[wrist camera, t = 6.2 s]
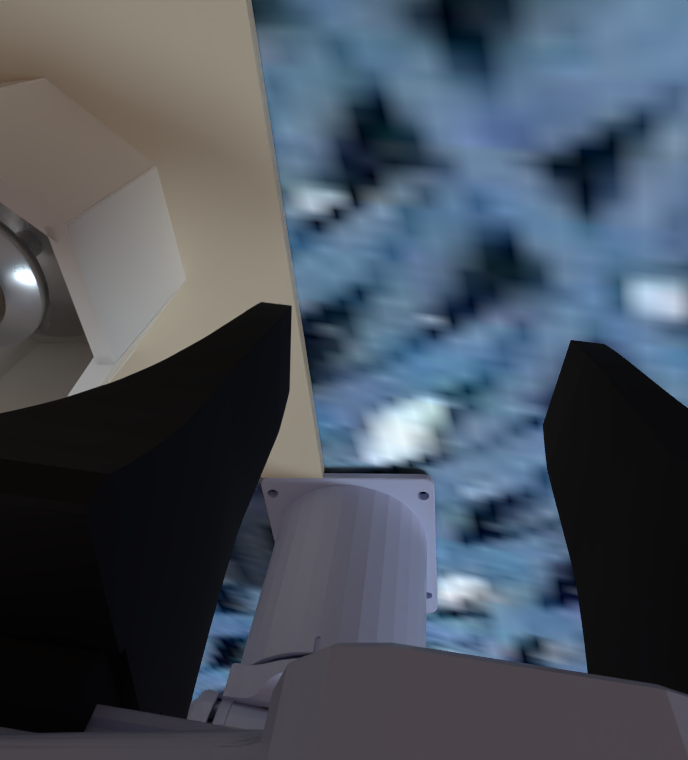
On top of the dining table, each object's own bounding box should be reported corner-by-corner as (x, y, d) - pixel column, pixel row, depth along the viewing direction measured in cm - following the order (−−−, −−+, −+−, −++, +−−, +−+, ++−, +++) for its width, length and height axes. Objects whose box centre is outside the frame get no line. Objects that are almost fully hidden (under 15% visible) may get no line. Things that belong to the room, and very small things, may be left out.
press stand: (324, 469, 28) (297, 589, 22) (-22, 466, 30) (-122, 571, 25) (208, -270, 15) (76, -418, 9) (-375, -154, 18) (-741, -215, 12)
